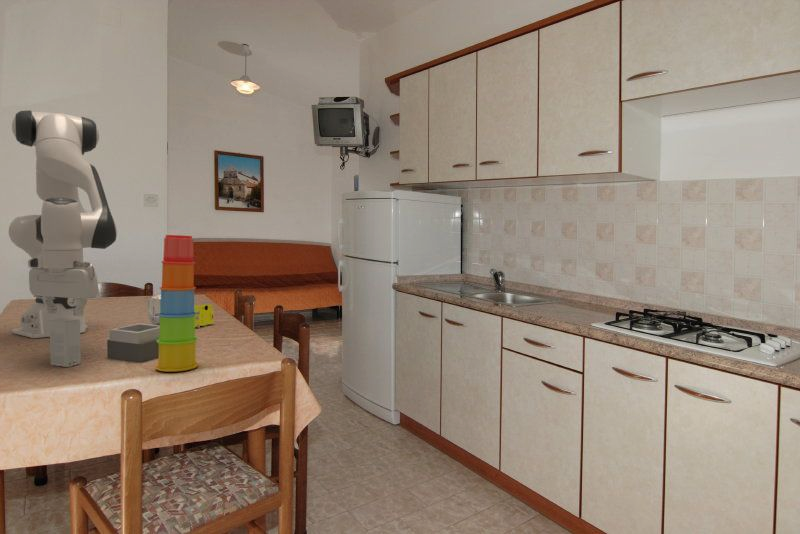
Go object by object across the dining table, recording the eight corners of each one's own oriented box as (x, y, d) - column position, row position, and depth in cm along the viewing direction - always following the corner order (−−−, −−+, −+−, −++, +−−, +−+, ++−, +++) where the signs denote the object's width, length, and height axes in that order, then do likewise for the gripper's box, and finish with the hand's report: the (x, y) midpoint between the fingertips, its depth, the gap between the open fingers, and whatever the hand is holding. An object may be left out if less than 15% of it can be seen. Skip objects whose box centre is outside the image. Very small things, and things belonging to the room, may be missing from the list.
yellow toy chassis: (177, 333, 173) (177, 309, 172) (166, 331, 176) (166, 307, 175) (214, 325, 187) (214, 303, 187) (203, 323, 190) (203, 301, 189)
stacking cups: (148, 367, 131) (146, 234, 128) (187, 360, 139) (186, 234, 136) (166, 376, 124) (164, 235, 122) (205, 367, 132) (204, 235, 129)
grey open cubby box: (107, 360, 139) (106, 329, 139) (137, 352, 149) (136, 323, 148) (141, 365, 136) (140, 333, 135) (169, 356, 145) (169, 326, 144)
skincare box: (82, 363, 133) (80, 318, 132) (66, 367, 129) (65, 321, 128) (65, 361, 135) (64, 317, 134) (49, 365, 131) (48, 319, 130)
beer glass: (163, 348, 151) (162, 299, 150) (142, 347, 152) (142, 297, 151) (177, 343, 158) (177, 296, 156) (158, 342, 159) (157, 294, 158)
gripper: (104, 261, 130) (106, 315, 130) (46, 259, 136) (48, 310, 137) (81, 262, 124) (83, 318, 124) (22, 260, 130) (25, 313, 131)
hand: (64, 314), depth 131 cm, fingers open, 8 cm apart
